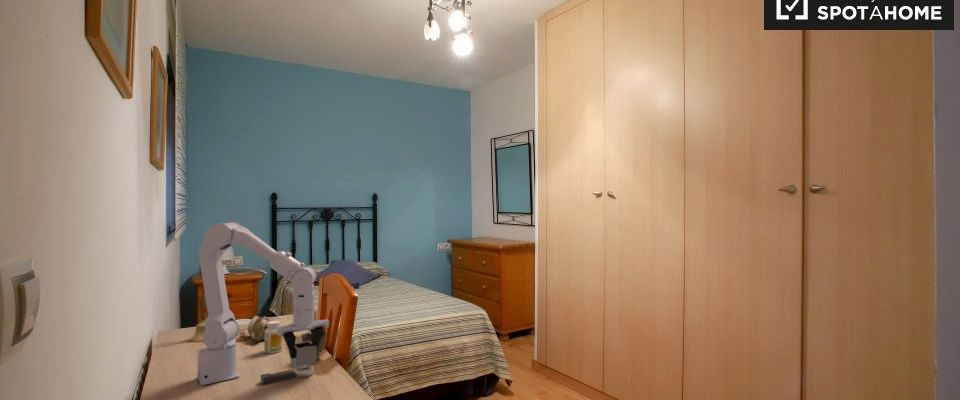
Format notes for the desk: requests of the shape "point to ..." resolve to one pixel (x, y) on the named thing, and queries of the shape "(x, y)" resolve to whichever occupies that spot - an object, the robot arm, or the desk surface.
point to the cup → (320, 347)
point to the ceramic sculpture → (258, 327)
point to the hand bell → (201, 326)
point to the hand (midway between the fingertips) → (303, 355)
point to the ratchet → (288, 374)
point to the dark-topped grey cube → (304, 354)
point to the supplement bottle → (272, 338)
